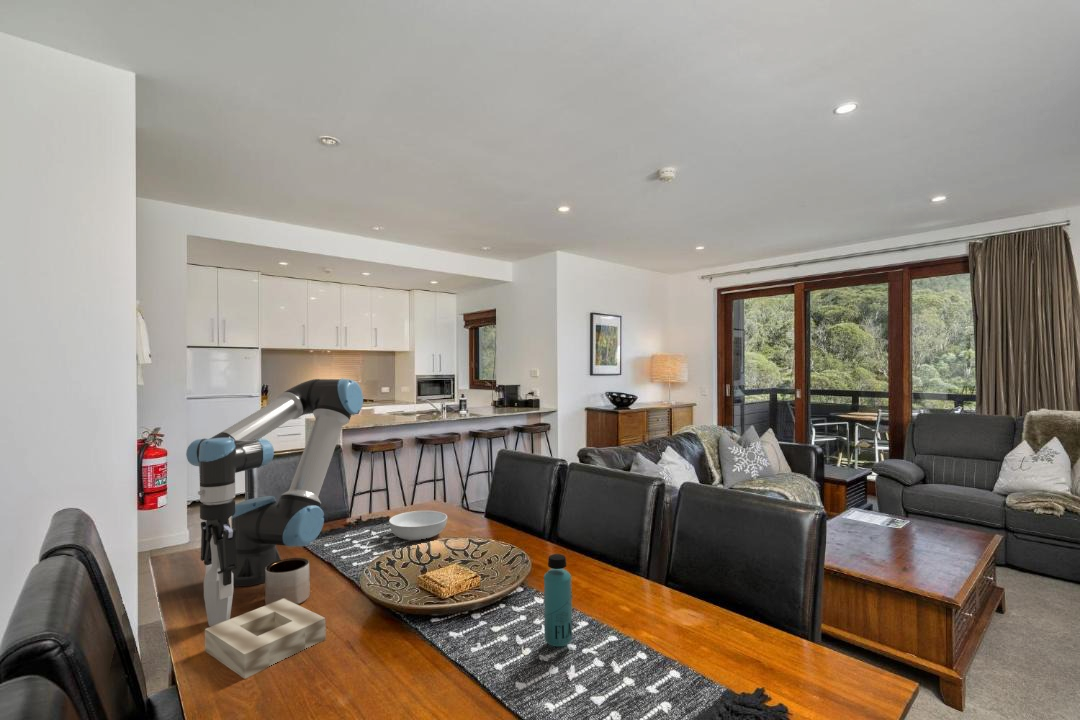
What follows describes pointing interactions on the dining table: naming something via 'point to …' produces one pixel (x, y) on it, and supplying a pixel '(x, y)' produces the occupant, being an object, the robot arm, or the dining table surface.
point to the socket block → (264, 636)
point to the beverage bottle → (557, 602)
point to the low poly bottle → (215, 592)
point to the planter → (287, 581)
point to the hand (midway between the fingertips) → (218, 593)
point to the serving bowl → (418, 524)
